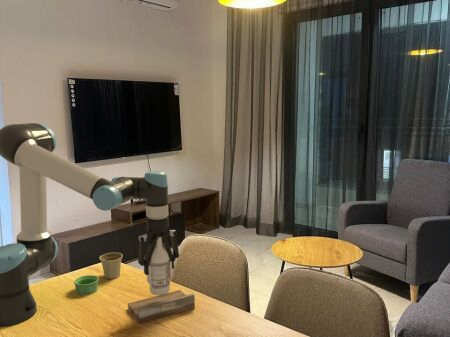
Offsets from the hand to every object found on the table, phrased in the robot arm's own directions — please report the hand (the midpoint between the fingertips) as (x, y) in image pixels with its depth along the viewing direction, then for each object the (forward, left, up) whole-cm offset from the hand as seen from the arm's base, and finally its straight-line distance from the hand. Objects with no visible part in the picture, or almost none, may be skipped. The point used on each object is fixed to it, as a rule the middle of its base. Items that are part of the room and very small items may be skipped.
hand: (159, 280), depth 138 cm
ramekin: (-28, -19, -10) cm, 36 cm away
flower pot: (-36, -7, -10) cm, 38 cm away
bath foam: (0, 0, -4) cm, 4 cm away
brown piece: (+1, 0, -10) cm, 10 cm away
